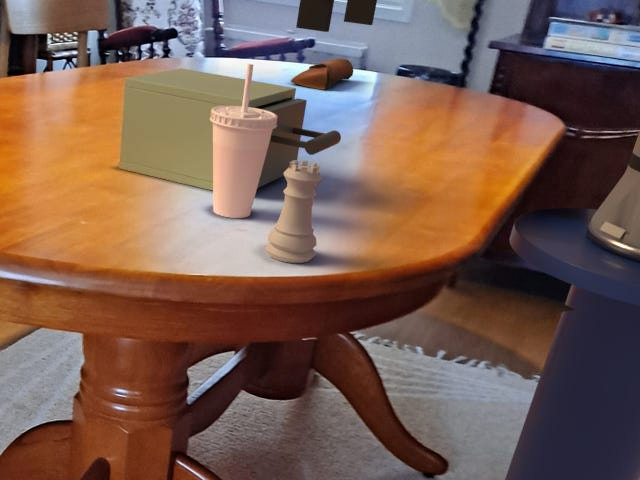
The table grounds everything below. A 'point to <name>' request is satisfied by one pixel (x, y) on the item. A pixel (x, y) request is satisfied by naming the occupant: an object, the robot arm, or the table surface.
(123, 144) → the cabinet
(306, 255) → the rook chess piece
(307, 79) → the sunglasses case
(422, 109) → the table surface
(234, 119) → the smoothie
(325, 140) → the drawer
